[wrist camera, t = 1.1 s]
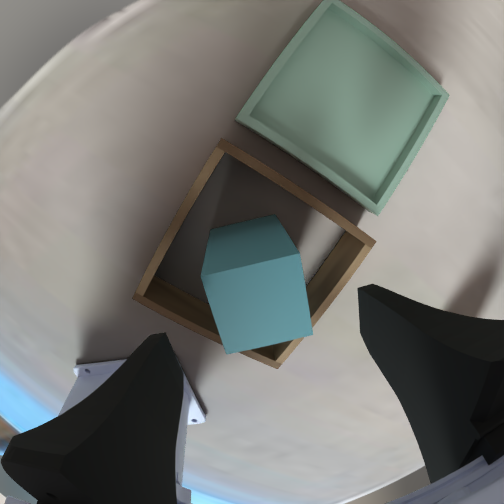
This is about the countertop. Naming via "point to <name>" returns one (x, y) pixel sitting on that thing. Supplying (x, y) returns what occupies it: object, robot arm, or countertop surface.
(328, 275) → the sleeve
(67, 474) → the robot arm
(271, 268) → the block
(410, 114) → the tray
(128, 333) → the countertop surface
